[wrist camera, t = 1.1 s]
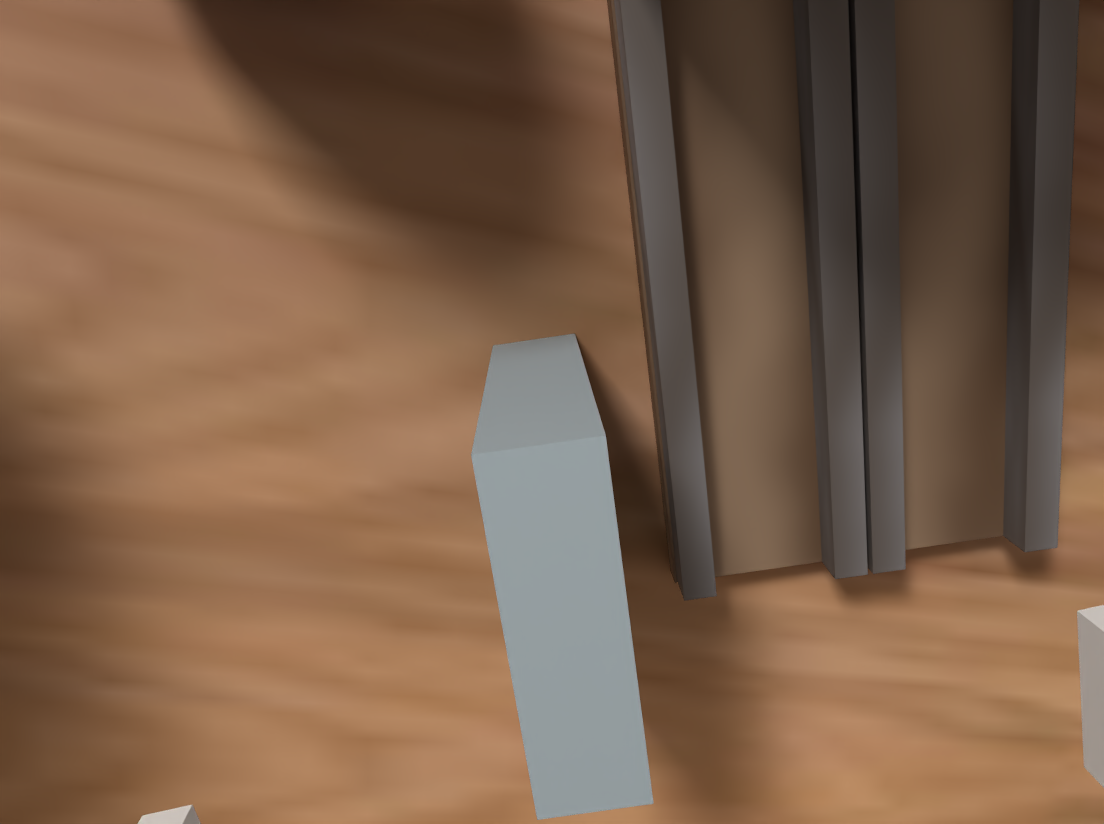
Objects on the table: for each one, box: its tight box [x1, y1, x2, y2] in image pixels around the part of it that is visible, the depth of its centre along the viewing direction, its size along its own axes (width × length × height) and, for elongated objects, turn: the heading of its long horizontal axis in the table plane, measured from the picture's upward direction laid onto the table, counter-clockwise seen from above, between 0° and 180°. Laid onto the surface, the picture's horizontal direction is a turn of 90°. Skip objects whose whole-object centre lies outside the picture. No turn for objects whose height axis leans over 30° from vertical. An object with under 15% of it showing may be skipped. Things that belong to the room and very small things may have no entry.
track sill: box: [607, 0, 1079, 601], centre depth 21 cm, size 14×24×15 cm, turn 8°
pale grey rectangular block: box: [471, 334, 653, 820], centre depth 25 cm, size 3×10×12 cm, turn 8°
